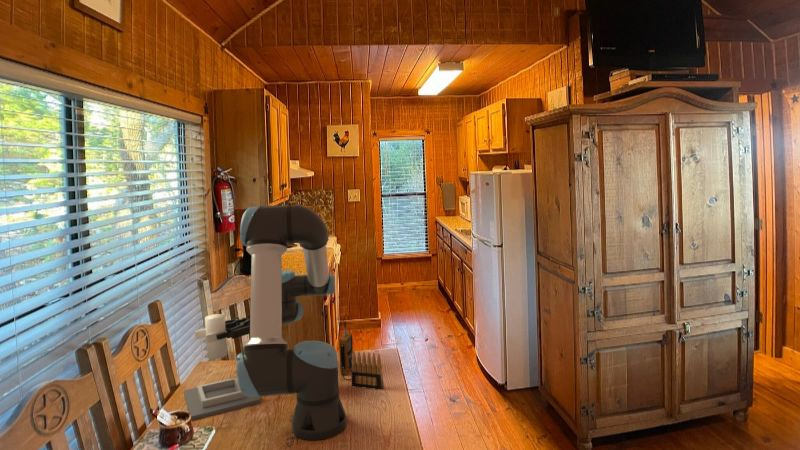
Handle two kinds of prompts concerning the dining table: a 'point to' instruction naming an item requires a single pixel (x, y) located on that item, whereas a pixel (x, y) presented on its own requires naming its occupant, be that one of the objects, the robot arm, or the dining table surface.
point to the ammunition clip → (367, 371)
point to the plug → (213, 325)
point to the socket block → (216, 398)
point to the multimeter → (345, 351)
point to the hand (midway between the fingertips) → (200, 337)
